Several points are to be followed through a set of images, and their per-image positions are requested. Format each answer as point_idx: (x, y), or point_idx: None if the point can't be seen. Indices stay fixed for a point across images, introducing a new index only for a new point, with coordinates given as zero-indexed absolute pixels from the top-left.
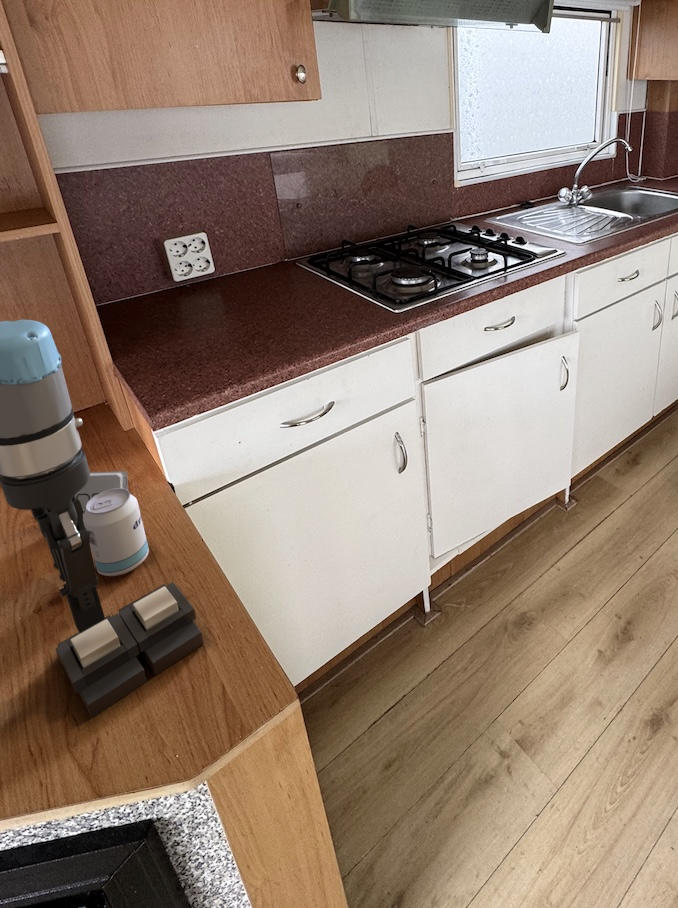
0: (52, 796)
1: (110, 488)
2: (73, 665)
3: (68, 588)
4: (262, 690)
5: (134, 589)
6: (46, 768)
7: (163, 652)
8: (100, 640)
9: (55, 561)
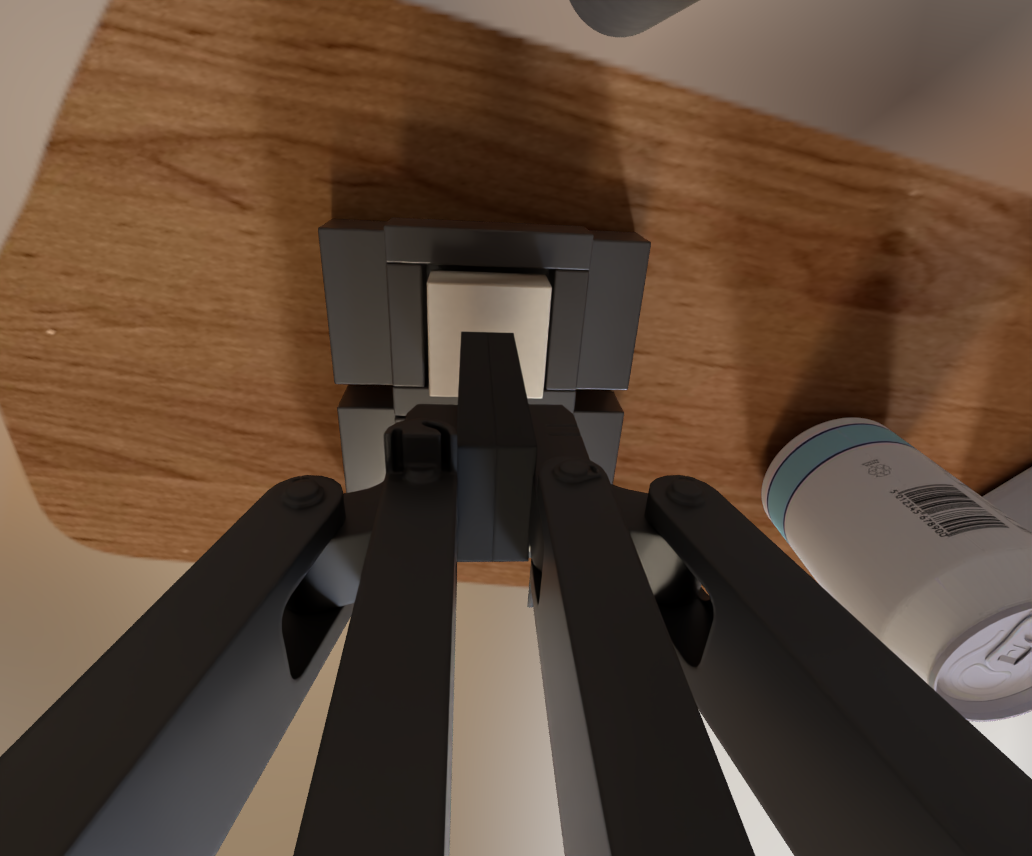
0: (129, 42)
1: None
2: (461, 252)
3: (406, 479)
4: (117, 527)
5: (698, 452)
6: (245, 61)
7: (354, 439)
8: (457, 354)
9: (678, 526)
